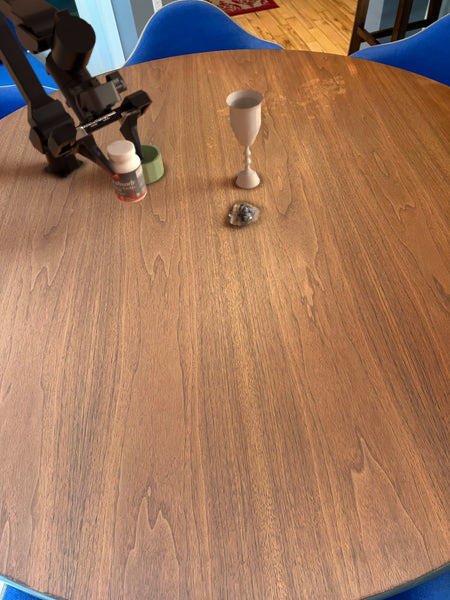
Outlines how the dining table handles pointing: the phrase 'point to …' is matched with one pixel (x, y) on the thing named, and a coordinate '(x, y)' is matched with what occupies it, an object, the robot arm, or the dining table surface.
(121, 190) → the pill bottle
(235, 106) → the chalice
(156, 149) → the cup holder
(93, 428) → the dining table surface
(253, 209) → the grey flat irregular piece
